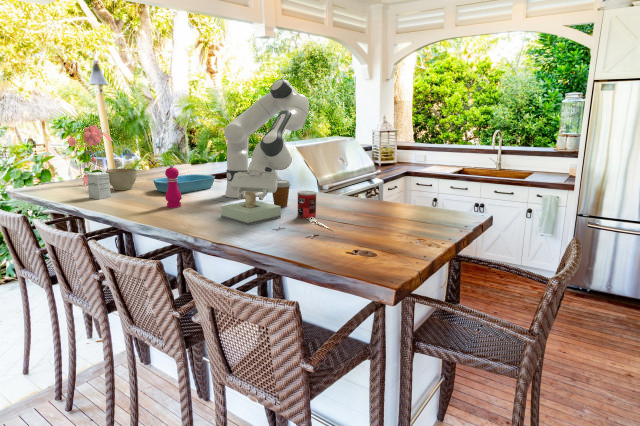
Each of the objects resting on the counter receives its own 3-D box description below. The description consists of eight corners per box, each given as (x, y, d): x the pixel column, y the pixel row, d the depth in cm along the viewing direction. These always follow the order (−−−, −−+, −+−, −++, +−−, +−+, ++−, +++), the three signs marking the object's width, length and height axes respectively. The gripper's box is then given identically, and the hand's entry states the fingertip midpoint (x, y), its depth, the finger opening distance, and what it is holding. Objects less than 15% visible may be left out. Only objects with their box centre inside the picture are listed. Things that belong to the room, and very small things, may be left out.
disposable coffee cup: (266, 205, 208) (266, 181, 205) (281, 203, 215) (281, 179, 212) (279, 209, 202) (279, 183, 199) (294, 206, 208) (294, 181, 206)
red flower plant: (69, 186, 248) (62, 124, 240) (108, 180, 271) (104, 124, 262) (86, 189, 242) (80, 126, 233) (125, 183, 264) (121, 125, 256)
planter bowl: (131, 191, 236) (129, 172, 233) (101, 191, 236) (99, 171, 233) (143, 186, 251) (141, 168, 249) (115, 186, 252) (114, 167, 249)
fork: (332, 234, 164) (332, 230, 163) (307, 221, 180) (307, 217, 180) (339, 233, 165) (339, 229, 165) (314, 220, 182) (314, 216, 182)
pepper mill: (177, 208, 199) (174, 165, 194) (162, 207, 200) (159, 164, 196) (184, 205, 206) (182, 163, 201) (171, 204, 207) (168, 163, 202)
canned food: (297, 214, 191) (297, 190, 188) (315, 214, 192) (315, 190, 189) (297, 219, 184) (298, 193, 181) (316, 219, 184) (316, 193, 182)
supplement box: (88, 198, 218) (85, 173, 215) (100, 195, 224) (98, 171, 221) (99, 199, 215) (96, 174, 212) (111, 197, 222) (109, 172, 219)
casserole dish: (196, 183, 267) (195, 172, 265) (222, 187, 256) (222, 175, 254) (145, 192, 236) (144, 179, 235) (173, 197, 225) (172, 183, 224)
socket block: (253, 210, 197) (253, 200, 196) (280, 217, 186) (280, 206, 184) (221, 217, 184) (220, 206, 183) (247, 225, 172) (247, 213, 171)
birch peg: (251, 213, 187) (251, 191, 185) (258, 215, 185) (257, 192, 182) (243, 215, 184) (243, 192, 182) (250, 216, 181) (249, 193, 179)
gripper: (233, 167, 189) (224, 193, 182) (277, 169, 185) (271, 195, 178) (237, 175, 194) (229, 201, 187) (280, 178, 190) (274, 204, 183)
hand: (250, 198), depth 182 cm, fingers open, 8 cm apart
